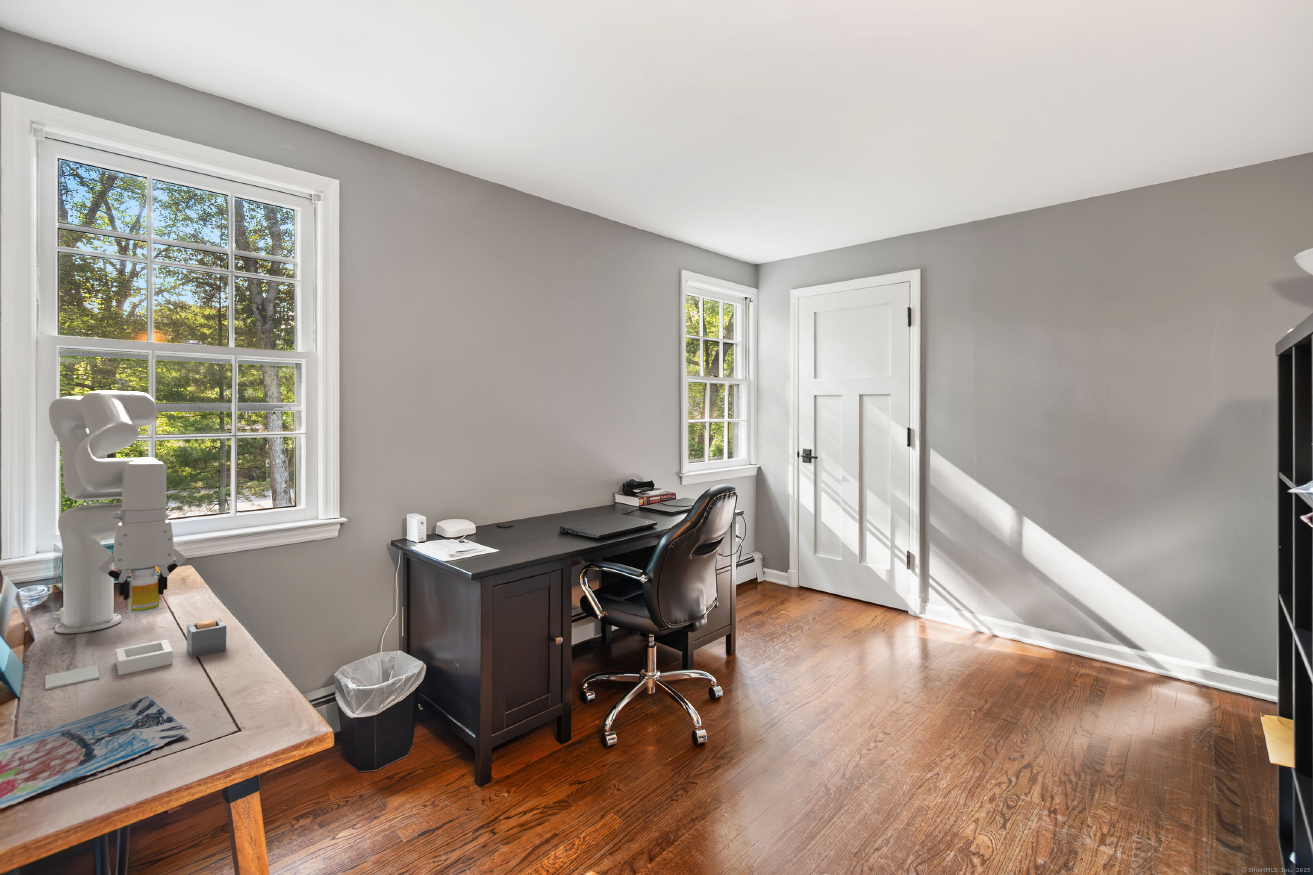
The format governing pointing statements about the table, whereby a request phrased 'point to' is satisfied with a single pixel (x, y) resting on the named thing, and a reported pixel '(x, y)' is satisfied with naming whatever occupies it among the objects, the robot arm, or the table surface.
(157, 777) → the table surface
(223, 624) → the egg pedestal
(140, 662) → the collar
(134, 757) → the table surface
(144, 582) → the supplement bottle
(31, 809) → the table surface
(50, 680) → the mat
